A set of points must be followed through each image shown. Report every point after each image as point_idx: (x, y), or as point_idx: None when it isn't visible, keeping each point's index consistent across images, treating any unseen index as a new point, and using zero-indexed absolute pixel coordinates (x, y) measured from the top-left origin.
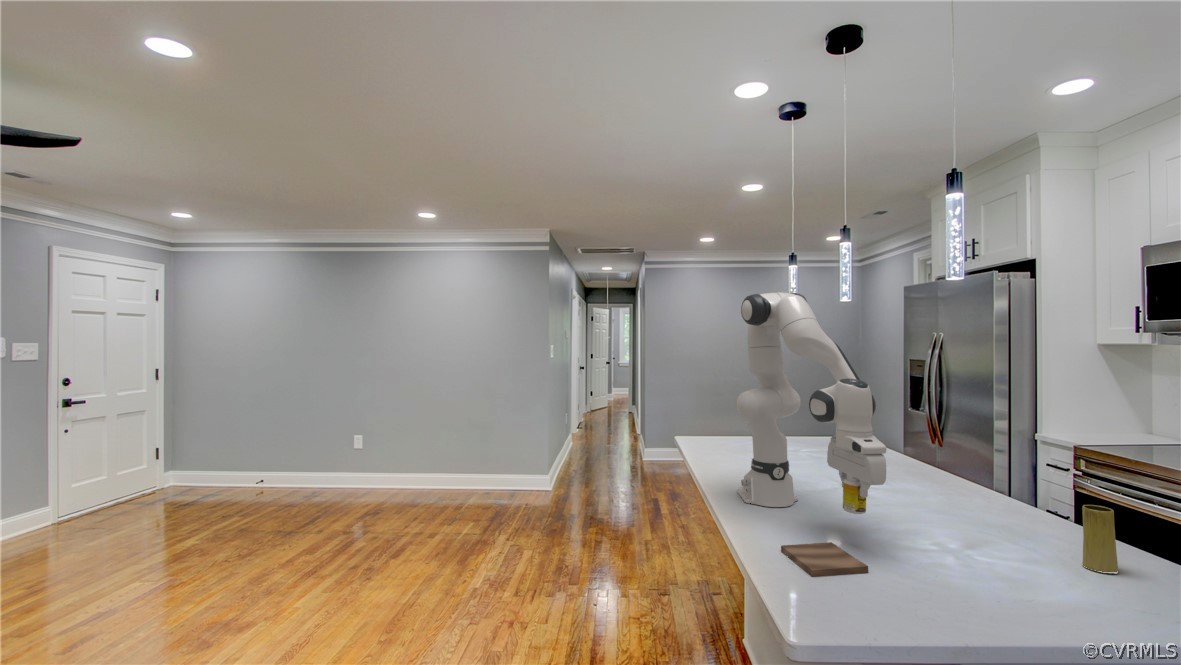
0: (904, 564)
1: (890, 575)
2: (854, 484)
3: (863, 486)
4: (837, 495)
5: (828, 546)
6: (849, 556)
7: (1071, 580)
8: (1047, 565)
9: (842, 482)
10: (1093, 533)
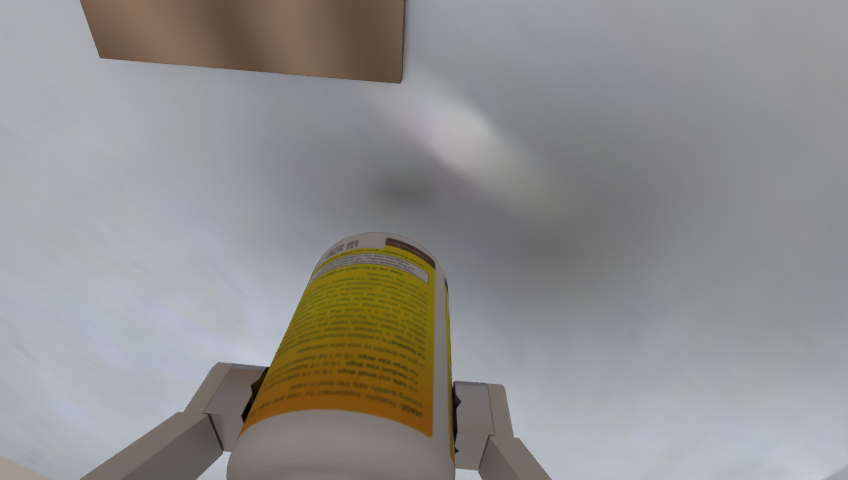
0: (223, 241)
1: (113, 130)
2: (236, 446)
3: (110, 464)
4: (818, 427)
5: (348, 25)
6: (214, 48)
7: None
8: None
9: (498, 427)
10: None
